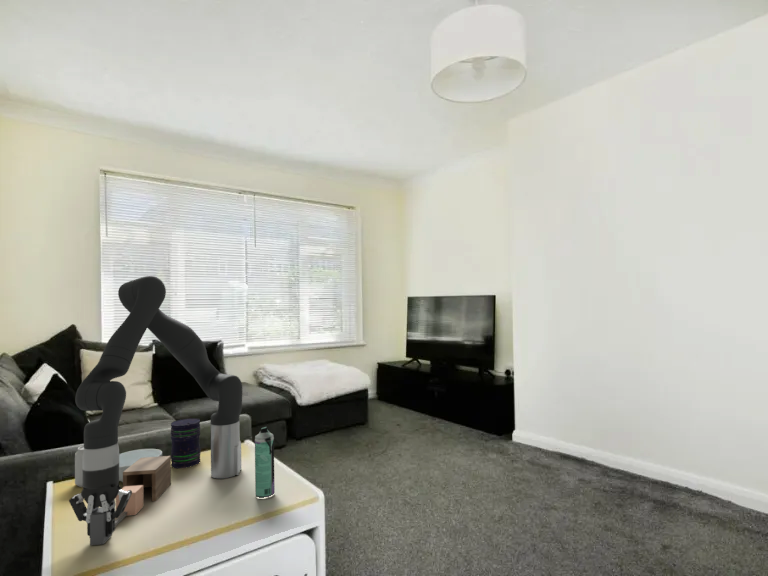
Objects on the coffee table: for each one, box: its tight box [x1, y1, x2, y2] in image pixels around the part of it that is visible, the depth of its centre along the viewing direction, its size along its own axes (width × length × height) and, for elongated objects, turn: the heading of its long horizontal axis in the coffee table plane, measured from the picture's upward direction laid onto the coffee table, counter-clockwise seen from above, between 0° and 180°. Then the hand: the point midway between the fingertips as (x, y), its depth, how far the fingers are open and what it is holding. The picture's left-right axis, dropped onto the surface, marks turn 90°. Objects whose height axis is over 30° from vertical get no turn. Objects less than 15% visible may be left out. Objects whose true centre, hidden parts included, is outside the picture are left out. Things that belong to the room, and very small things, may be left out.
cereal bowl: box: [119, 448, 163, 483], centre depth 144 cm, size 17×17×7 cm
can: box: [74, 444, 84, 488], centre depth 141 cm, size 8×8×12 cm
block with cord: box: [89, 485, 144, 546], centre depth 112 cm, size 5×20×7 cm, turn 7°
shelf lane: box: [122, 455, 172, 502], centre depth 132 cm, size 9×12×9 cm
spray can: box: [254, 426, 276, 498], centre depth 128 cm, size 6×6×20 cm
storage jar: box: [170, 417, 201, 469], centre depth 157 cm, size 10×10×15 cm
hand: (101, 535), depth 105 cm, fingers closed on block with cord, 3 cm apart
